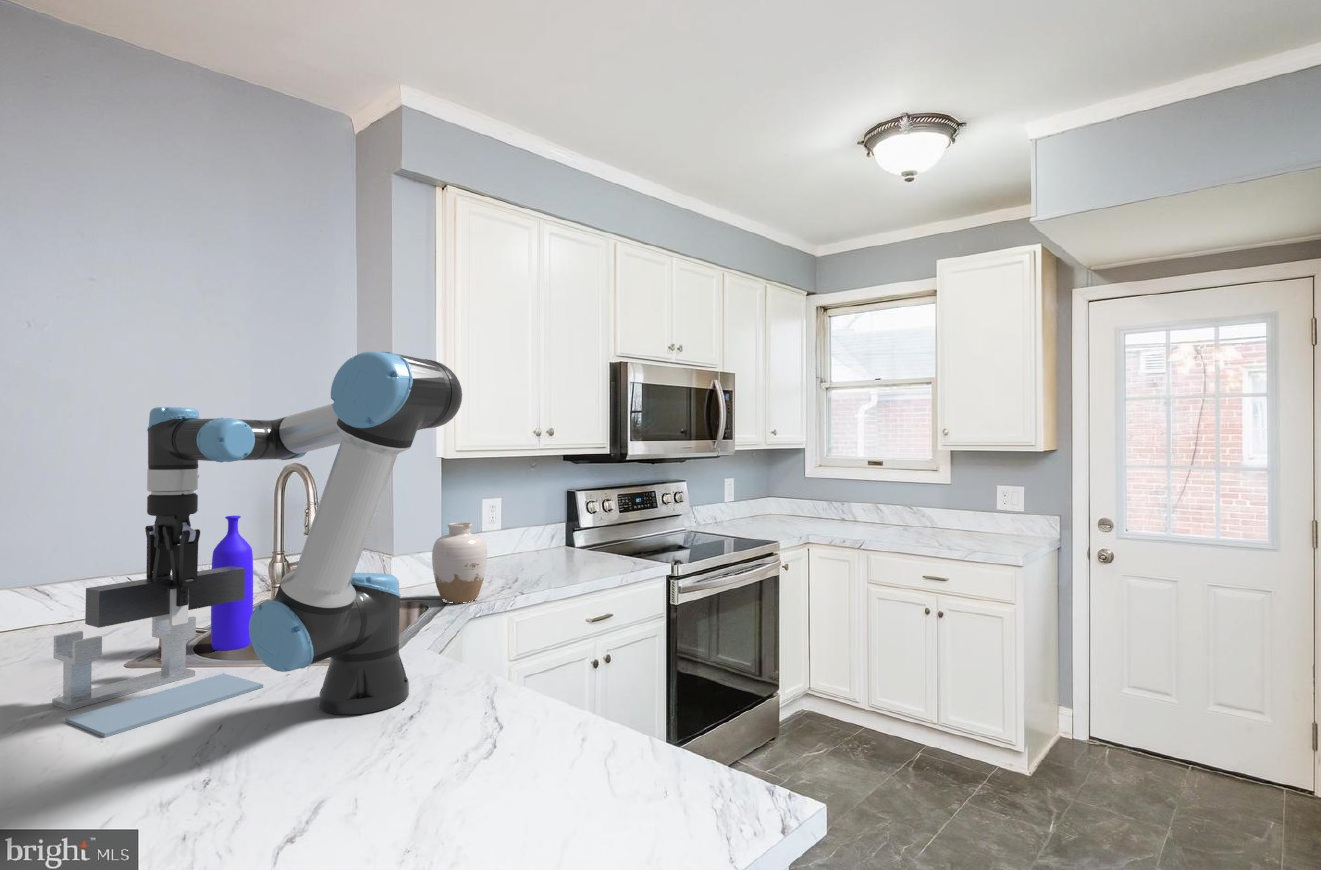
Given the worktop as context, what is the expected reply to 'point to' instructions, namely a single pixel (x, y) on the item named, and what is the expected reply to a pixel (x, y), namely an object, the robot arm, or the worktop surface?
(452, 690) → the worktop surface
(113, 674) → the worktop surface
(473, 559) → the vase
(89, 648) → the standards
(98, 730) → the mat
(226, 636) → the bottle
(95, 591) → the rail
